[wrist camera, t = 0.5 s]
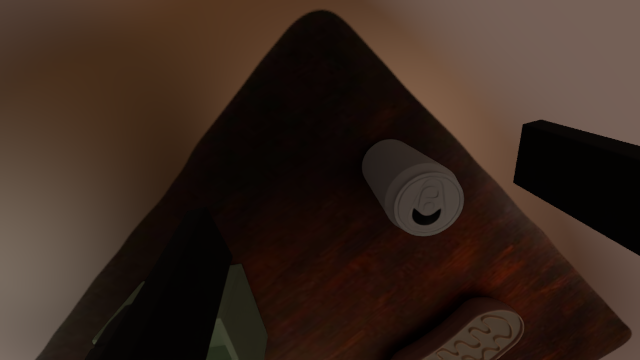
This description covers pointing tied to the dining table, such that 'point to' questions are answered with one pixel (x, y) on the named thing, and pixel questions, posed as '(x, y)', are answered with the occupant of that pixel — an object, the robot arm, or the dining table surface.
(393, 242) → the dining table surface
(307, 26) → the dining table surface
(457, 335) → the anatomical model
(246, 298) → the waste bin
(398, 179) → the beverage can
